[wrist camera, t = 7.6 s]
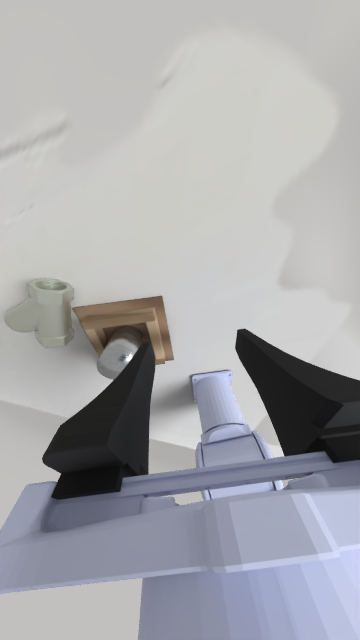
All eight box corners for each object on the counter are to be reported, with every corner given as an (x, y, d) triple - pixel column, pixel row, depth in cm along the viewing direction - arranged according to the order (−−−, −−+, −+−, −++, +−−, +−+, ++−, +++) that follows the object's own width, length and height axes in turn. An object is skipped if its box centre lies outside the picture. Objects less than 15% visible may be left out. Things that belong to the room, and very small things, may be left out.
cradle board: (173, 355, 26) (174, 367, 24) (108, 364, 26) (102, 377, 24) (162, 294, 20) (161, 302, 18) (76, 305, 20) (64, 315, 18)
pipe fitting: (28, 320, 21) (78, 334, 22) (-2, 337, 17) (59, 351, 18) (18, 265, 17) (78, 285, 18) (-23, 272, 14) (55, 296, 15)
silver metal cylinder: (145, 346, 23) (138, 378, 18) (118, 348, 23) (103, 381, 18) (140, 324, 21) (130, 352, 16) (110, 326, 21) (90, 356, 16)
